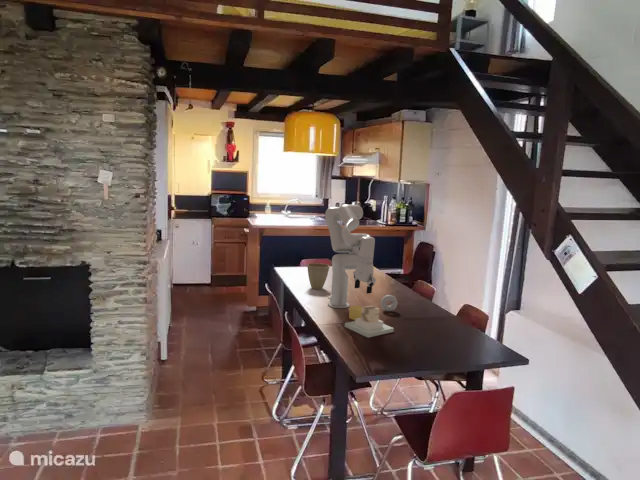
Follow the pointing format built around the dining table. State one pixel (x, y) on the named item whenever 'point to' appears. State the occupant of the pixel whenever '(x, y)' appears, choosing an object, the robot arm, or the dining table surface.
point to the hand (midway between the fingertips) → (362, 290)
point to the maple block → (370, 313)
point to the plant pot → (317, 274)
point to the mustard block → (355, 312)
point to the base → (369, 332)
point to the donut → (384, 301)
